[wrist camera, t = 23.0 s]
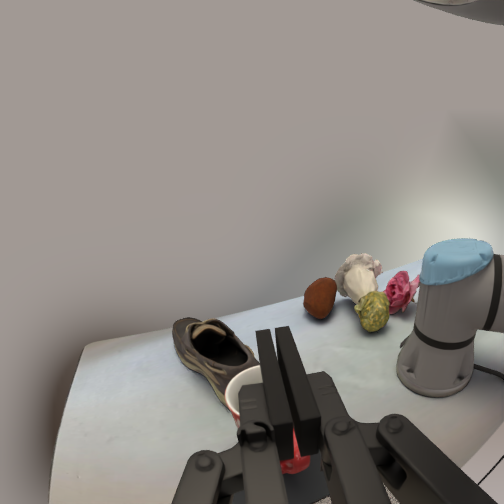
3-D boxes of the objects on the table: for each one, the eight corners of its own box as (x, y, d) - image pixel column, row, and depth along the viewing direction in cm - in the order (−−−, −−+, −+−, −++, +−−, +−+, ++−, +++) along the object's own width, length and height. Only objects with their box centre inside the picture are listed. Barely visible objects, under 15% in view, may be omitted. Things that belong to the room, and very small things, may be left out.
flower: (383, 328, 62) (366, 291, 64) (398, 313, 68) (382, 279, 70) (423, 312, 53) (405, 272, 56) (434, 297, 60) (417, 261, 62)
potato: (329, 328, 63) (298, 324, 68) (344, 294, 70) (316, 292, 75) (322, 305, 59) (290, 302, 64) (338, 271, 67) (309, 270, 72)
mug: (234, 440, 35) (216, 374, 31) (294, 422, 37) (290, 354, 33) (262, 510, 23) (248, 461, 19) (333, 484, 25) (345, 425, 21)
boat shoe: (205, 328, 67) (196, 288, 64) (293, 389, 44) (291, 339, 41) (164, 346, 61) (152, 304, 58) (241, 423, 38) (230, 374, 35)
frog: (326, 291, 72) (337, 341, 56) (344, 247, 67) (363, 292, 50) (366, 299, 73) (385, 347, 56) (386, 258, 67) (413, 302, 51)
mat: (323, 419, 37) (323, 417, 37) (370, 471, 26) (371, 469, 26) (194, 466, 31) (193, 464, 30) (220, 536, 20) (219, 535, 20)
